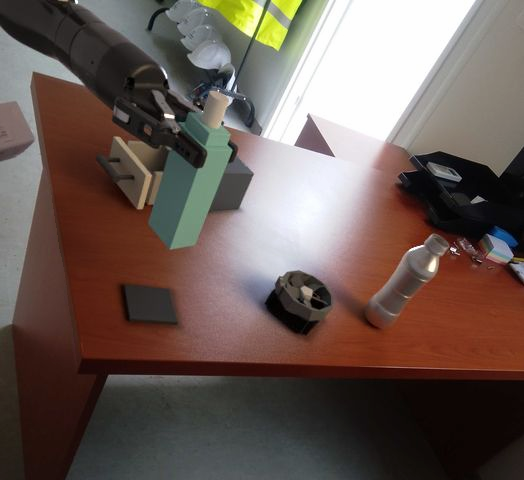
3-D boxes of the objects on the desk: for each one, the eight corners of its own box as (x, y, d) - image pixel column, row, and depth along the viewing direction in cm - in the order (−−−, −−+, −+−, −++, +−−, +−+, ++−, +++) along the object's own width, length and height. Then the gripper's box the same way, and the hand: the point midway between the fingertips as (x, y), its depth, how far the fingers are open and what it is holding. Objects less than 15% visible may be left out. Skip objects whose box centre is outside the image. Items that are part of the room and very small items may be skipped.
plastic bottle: (371, 333, 87) (440, 252, 74) (354, 307, 91) (417, 226, 77) (394, 332, 91) (463, 255, 78) (376, 307, 94) (440, 229, 81)
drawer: (115, 210, 78) (123, 175, 73) (85, 170, 82) (91, 134, 77) (197, 206, 89) (209, 175, 85) (167, 171, 93) (177, 140, 89)
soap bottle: (169, 249, 58) (219, 108, 46) (147, 223, 60) (189, 80, 47) (195, 245, 61) (248, 111, 49) (173, 220, 63) (219, 84, 50)
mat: (128, 321, 64) (129, 318, 64) (123, 286, 68) (124, 283, 68) (176, 324, 67) (178, 322, 67) (169, 291, 71) (170, 289, 71)
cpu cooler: (343, 296, 81) (320, 320, 73) (327, 318, 84) (304, 342, 77) (297, 261, 82) (270, 281, 74) (284, 284, 86) (257, 305, 78)
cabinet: (182, 213, 87) (196, 173, 82) (149, 173, 92) (160, 133, 86) (238, 209, 97) (254, 173, 91) (206, 173, 101) (219, 137, 96)
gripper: (71, 34, 47) (185, 130, 44) (170, 45, 57) (268, 124, 54) (63, 106, 52) (164, 197, 49) (155, 104, 62) (244, 179, 59)
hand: (218, 158), depth 51 cm, fingers closed on soap bottle, 4 cm apart
